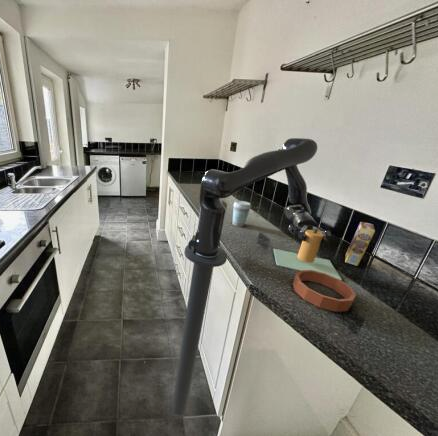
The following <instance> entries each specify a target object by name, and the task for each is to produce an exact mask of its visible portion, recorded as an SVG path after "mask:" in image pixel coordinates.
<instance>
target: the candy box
mask: <svg viewBox="0 0 438 436" xmlns="http://www.w3.org/2000/svg"><path fill="white" fill-rule="evenodd" d="M375 233H376V229H375V225H374V224H372V223H369V222H364V221H360V222H359V224H358V226H357V229H356V231H355V232H354V235H353V237H352V240H351V242H350V244H349V246H348V248H347V251H346V253H345V257H344V259H345V260H344V263H346V264H349V265H353V266H354V267H358V266H359V265H360V262H361V260H362V259H363V257H364V255H365V253H366V251H367V249H368V247H369V244H370V243H371V240H372V239H373V237H374V235H375Z"/></svg>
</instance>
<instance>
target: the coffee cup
mask: <svg viewBox="0 0 438 436" xmlns="http://www.w3.org/2000/svg"><path fill="white" fill-rule="evenodd" d="M232 205H233V209H232V223H231V224H232V225H233V226H235V227H244V226H245V223H246V221H247V218H248V215H249V213H250V210H251V209H252V204H251V203H250V202H248V201H245V200H235V201H234V203H233V204H232Z"/></svg>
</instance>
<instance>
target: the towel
mask: <svg viewBox="0 0 438 436" xmlns="http://www.w3.org/2000/svg"><path fill="white" fill-rule="evenodd" d="M272 250H273V254H274V259H275V263H276V267H281V268H286V269H289V270H293V271H298V272H299V271H301V270H313V271H317V272H322V273H326V274H328V275H330V276H333V277H335V278H337V279H340V280H341V281H342V280H343V279H342V277H341V276H340V274H339V273H338V271H337V269H336V268H335V267H334V265H333V263H332V262H331V260H330V259H326V258H321V257H317V256H316V257H315V260H314V262H313V263H308V262H304V261H301V260H300V259H298V258H297V256H298V253H297V252H293V251H287V250H283V249H278V248H273V249H272Z"/></svg>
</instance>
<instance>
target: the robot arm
mask: <svg viewBox="0 0 438 436" xmlns="http://www.w3.org/2000/svg"><path fill="white" fill-rule="evenodd" d="M317 151H318V143H317V142H316V141H315V140H313V139H312V138H304V137H291V138H288V139H286V140H285V141H284V143H283V144H282V146H281V149H276V150H270V151H265V152H262V153H259V154H257V155H255V156H252V157H250V158H249V159H248V160H247V162H245V164H244V166H243V167H242V168H239V169H238V170H234V171H230V172H226V171H223V170H219V169H213V168H211V169H209V170H207V171H206V172H205V173H204V174H203V176H202V178H201V182H200V186H199V187H200V188H199V198H198V199H199V200H198V205H199V208H200V209H199V215H198V222H197V228H196V231H195V234H193V236H192V237H191V239H190V240H189V241H188V243H187V245H188V247H189V249H192V248H191V246H192V247H194V249H193V253H194V254H196V255H198V256H200V257H203V258H215V257H216V256H217V254H218V248H220V246H221V243H220V241H221V237H222V232H223V226H224V221H225V216H226V211H227V210H226V209H227V208H226V206H225V205H224V204H223V202H222V201H221V199H227V198H229V197H231V196H233V195H235V194H237V193H238V192H240V191H241V190H243V189H245V188H246V187H248V186H250V185H252V184H255V183H257V182H259V181H261V180H264V179H266V178H269V177H271V176H273V175H275V174H277V173H279V172H282V171H285V175H286V180H287V188H288V189H287V190H288V191H287V192H288V201H289V203H290V204H293V205H288V206H287V207H286V208H285V209H284V216H285V219H287V220H288V221H289V222H291V223H290V224H289V226H288V232H289V233H290V234H291V235H292V236H294V237H296V236H298V238H299V239H300V240H301V242H302V241H305V240H306V237H307V236H306V234H305V232H306V230H314V228H315V229H318V232H320V233H322V234H323V238H322V241H321V244H320V245H322V246H325V245H327V244H328V243H329V242H330V239H331V238H332V233H331V231H330V230H324V231H323V230H322V229H321V228H320V227H319V225H318V223H317V221H316V220H315V219H314V217H313V216H312V210H311V207H310V204H309V203H308V197H307V196H308V187H307V182H306V180H305V179H304V177H303V175H302V173H301V171H300V170H299V167H298V165H301V164H304V163H307V162H309V161H310V160H312V159H313V158H314V157H315V155H316V154H317Z"/></svg>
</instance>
